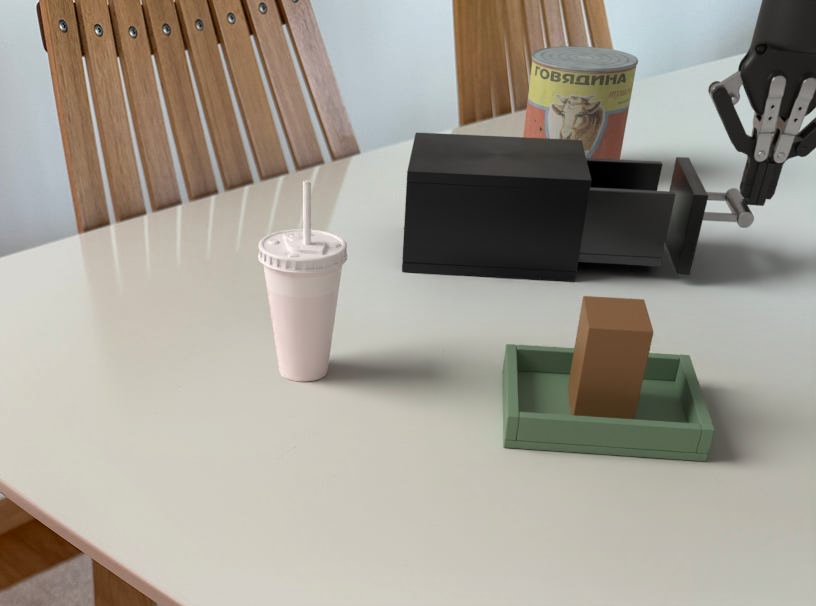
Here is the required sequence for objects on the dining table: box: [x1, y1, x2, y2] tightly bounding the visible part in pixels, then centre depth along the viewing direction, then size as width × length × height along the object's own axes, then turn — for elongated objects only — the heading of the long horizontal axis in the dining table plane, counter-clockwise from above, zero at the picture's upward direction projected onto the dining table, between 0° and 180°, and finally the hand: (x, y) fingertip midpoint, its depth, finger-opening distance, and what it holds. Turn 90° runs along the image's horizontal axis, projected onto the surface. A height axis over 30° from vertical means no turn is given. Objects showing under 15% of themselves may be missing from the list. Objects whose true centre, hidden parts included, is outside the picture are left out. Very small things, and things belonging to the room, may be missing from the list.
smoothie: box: [257, 179, 348, 382], centre depth 76 cm, size 6×6×14 cm
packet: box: [568, 295, 654, 419], centre depth 73 cm, size 4×6×7 cm
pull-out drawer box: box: [578, 156, 755, 276], centre depth 96 cm, size 20×12×7 cm, turn 83°
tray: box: [502, 343, 715, 462], centre depth 74 cm, size 14×12×2 cm
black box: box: [401, 132, 591, 282], centre depth 97 cm, size 16×13×9 cm
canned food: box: [523, 45, 639, 160], centre depth 116 cm, size 11×11×12 cm
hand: (753, 202), depth 95 cm, fingers closed
